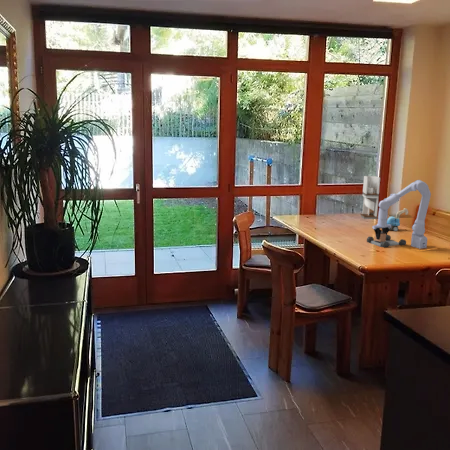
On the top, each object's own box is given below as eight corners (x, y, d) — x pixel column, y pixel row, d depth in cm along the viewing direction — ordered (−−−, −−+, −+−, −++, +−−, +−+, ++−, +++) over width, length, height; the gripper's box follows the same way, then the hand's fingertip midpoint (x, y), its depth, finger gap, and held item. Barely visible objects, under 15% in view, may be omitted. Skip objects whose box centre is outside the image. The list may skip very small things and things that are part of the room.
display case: (360, 216, 422) (364, 175, 415) (373, 216, 422) (376, 176, 414) (363, 218, 411) (367, 177, 403) (376, 219, 410) (380, 177, 403)
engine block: (385, 241, 321) (386, 232, 320) (380, 241, 319) (381, 232, 318) (379, 239, 326) (380, 230, 324) (374, 240, 324) (375, 231, 322)
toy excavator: (407, 232, 364) (409, 209, 360) (384, 230, 367) (386, 208, 363) (405, 229, 372) (407, 207, 368) (382, 228, 375) (384, 206, 371)
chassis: (406, 246, 322) (406, 239, 321) (382, 249, 314) (383, 242, 313) (388, 240, 336) (389, 234, 335) (366, 243, 327) (366, 236, 326)
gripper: (386, 216, 325) (384, 236, 328) (369, 218, 319) (368, 238, 322) (394, 218, 319) (392, 239, 322) (377, 220, 313) (375, 240, 316)
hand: (380, 238), depth 322 cm, fingers closed on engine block, 4 cm apart
